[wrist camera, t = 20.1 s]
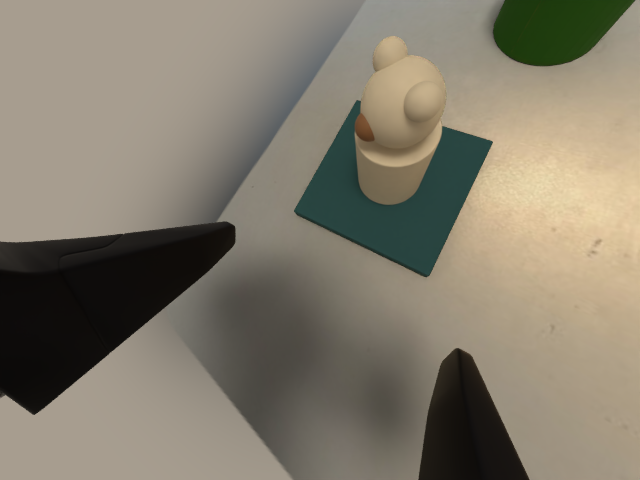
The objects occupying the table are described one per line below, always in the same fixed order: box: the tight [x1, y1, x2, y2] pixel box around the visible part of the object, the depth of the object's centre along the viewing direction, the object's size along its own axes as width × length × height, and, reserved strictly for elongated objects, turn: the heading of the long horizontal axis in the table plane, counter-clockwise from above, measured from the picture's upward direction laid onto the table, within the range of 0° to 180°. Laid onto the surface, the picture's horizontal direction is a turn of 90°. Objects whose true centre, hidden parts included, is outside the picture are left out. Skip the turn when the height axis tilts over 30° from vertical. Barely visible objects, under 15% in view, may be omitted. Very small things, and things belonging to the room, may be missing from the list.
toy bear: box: [355, 36, 446, 205], centre depth 15 cm, size 5×5×10 cm
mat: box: [294, 100, 493, 277], centre depth 21 cm, size 12×12×1 cm
